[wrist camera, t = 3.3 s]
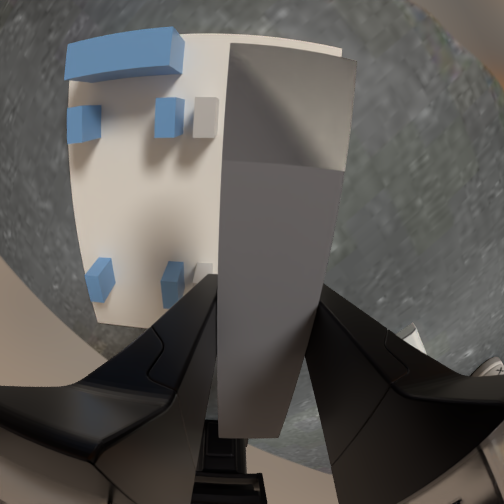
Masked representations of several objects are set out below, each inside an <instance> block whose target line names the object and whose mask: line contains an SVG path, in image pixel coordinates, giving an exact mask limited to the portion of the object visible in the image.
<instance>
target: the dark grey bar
mask: <svg viewBox="0 0 504 504" xmlns="http://www.w3.org/2000/svg"><path fill="white" fill-rule="evenodd" d="M356 67H357V61H355V60H351V59H347V58H343V57H338V56H334V55H329V54H324V53H318V52H313V51H307V50H301V49H294V48H287V47H279V46H270V45H259V44H246V43H230V52H229V64H228V76H227V88H226V102H225V116H224V132H223V149H222V167H221V188H220V213H219V243H218V289H217V389H218V432H219V438H279V435H280V432H281V429H282V427H283V424H284V421H285V418H286V415H287V412H288V409H289V406H290V402H291V399H292V396H293V393H294V390H295V387H296V383H297V380H298V377H299V373H300V370H301V367H302V363H303V360H304V356H305V353H306V349H307V345H308V342H309V338H310V334H311V331H312V327H313V323H314V319H315V315H316V311H317V307H318V303H319V299H320V295H321V291H322V286H323V282H324V278H325V273H326V269H327V264H328V260H329V255H330V250H331V245H332V240H333V235H334V230H335V225H336V220H337V214H338V209H339V203H340V197H341V191H342V185H343V179H344V173H345V166H346V159H347V152H348V145H349V137H350V129H351V121H352V112H353V102H354V92H355V80H356Z"/></svg>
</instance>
